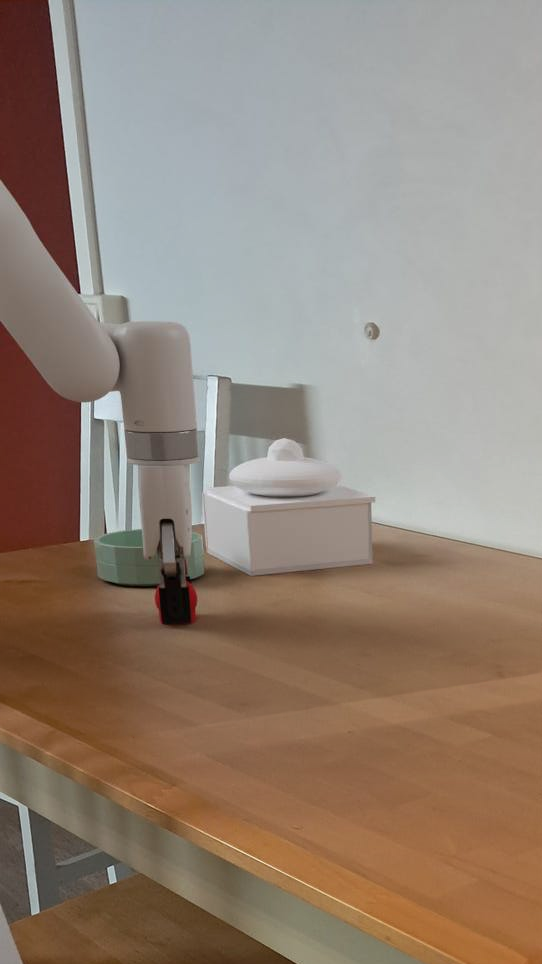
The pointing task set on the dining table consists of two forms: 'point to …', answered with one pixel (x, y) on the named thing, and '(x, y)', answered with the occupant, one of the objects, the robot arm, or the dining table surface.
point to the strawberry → (192, 603)
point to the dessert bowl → (138, 559)
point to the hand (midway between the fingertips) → (177, 615)
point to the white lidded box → (287, 516)
